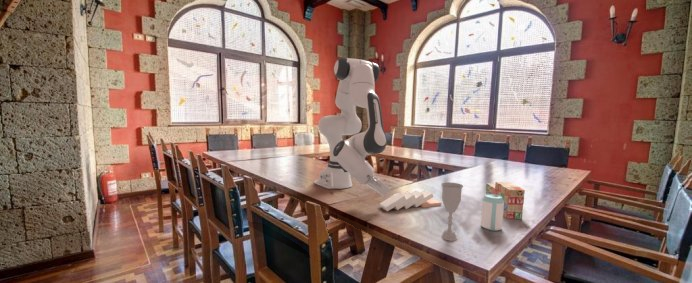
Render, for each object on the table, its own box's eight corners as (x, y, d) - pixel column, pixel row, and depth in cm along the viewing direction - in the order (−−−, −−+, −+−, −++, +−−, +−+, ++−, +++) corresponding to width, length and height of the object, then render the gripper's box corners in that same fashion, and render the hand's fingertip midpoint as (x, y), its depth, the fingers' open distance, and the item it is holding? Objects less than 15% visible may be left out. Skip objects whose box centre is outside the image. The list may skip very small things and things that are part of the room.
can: (480, 222, 113) (482, 192, 112) (500, 225, 110) (503, 194, 109) (481, 229, 106) (483, 197, 105) (503, 232, 104) (505, 199, 103)
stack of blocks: (485, 202, 139) (486, 176, 138) (498, 202, 139) (500, 177, 137) (506, 219, 118) (508, 188, 116) (522, 219, 117) (525, 189, 116)
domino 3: (404, 205, 127) (422, 193, 129) (397, 201, 132) (415, 190, 134) (406, 209, 127) (424, 197, 130) (399, 205, 132) (416, 194, 135)
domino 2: (395, 206, 125) (414, 194, 128) (389, 202, 130) (407, 191, 133) (397, 210, 125) (415, 198, 128) (390, 206, 130) (408, 195, 133)
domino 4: (415, 203, 128) (432, 193, 132) (407, 200, 133) (424, 190, 137) (416, 207, 129) (433, 197, 133) (408, 204, 134) (425, 194, 138)
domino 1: (385, 207, 123) (404, 195, 126) (379, 203, 128) (398, 192, 131) (387, 211, 124) (406, 199, 126) (381, 207, 129) (399, 196, 131)
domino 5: (422, 204, 130) (441, 202, 133) (415, 200, 135) (433, 198, 138) (422, 208, 130) (441, 206, 133) (415, 205, 135) (433, 203, 138)
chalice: (456, 244, 94) (459, 189, 92) (435, 238, 98) (438, 185, 97) (462, 236, 100) (466, 184, 98) (442, 231, 104) (445, 181, 102)
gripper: (379, 173, 112) (401, 196, 117) (359, 163, 132) (379, 183, 136) (368, 185, 111) (390, 208, 116) (350, 173, 131) (369, 193, 135)
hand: (384, 194), depth 126 cm, fingers closed
